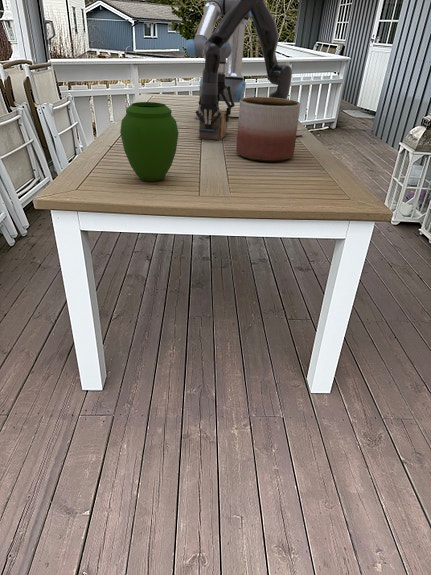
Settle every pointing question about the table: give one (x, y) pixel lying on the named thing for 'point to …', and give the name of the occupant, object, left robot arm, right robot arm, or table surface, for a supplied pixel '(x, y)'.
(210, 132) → the drawer
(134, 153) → the vase
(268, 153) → the planter
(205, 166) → the table surface
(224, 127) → the tan rectangular mottled block
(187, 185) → the table surface
